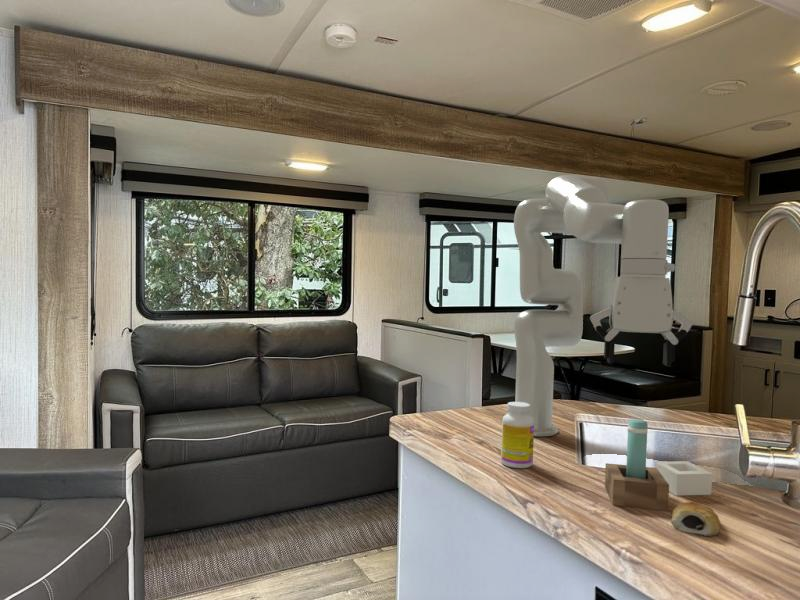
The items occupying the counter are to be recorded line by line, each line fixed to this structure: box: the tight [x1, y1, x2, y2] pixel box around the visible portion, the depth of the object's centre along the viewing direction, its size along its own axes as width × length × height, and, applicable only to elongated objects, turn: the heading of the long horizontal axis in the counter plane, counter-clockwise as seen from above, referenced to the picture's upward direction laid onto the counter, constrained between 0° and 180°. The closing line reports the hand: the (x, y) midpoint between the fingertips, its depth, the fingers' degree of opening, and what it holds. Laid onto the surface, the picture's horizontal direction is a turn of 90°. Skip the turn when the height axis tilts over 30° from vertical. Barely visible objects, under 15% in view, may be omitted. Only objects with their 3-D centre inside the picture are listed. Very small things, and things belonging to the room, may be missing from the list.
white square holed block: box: [654, 460, 713, 497], centre depth 106 cm, size 7×7×4 cm
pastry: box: [670, 501, 721, 537], centre depth 90 cm, size 9×7×4 cm
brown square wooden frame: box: [604, 463, 670, 512], centre depth 100 cm, size 9×9×4 cm
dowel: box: [626, 418, 649, 479], centre depth 100 cm, size 3×3×14 cm
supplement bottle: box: [500, 401, 535, 469], centre depth 117 cm, size 7×7×13 cm
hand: (638, 364), depth 100 cm, fingers open, 9 cm apart
